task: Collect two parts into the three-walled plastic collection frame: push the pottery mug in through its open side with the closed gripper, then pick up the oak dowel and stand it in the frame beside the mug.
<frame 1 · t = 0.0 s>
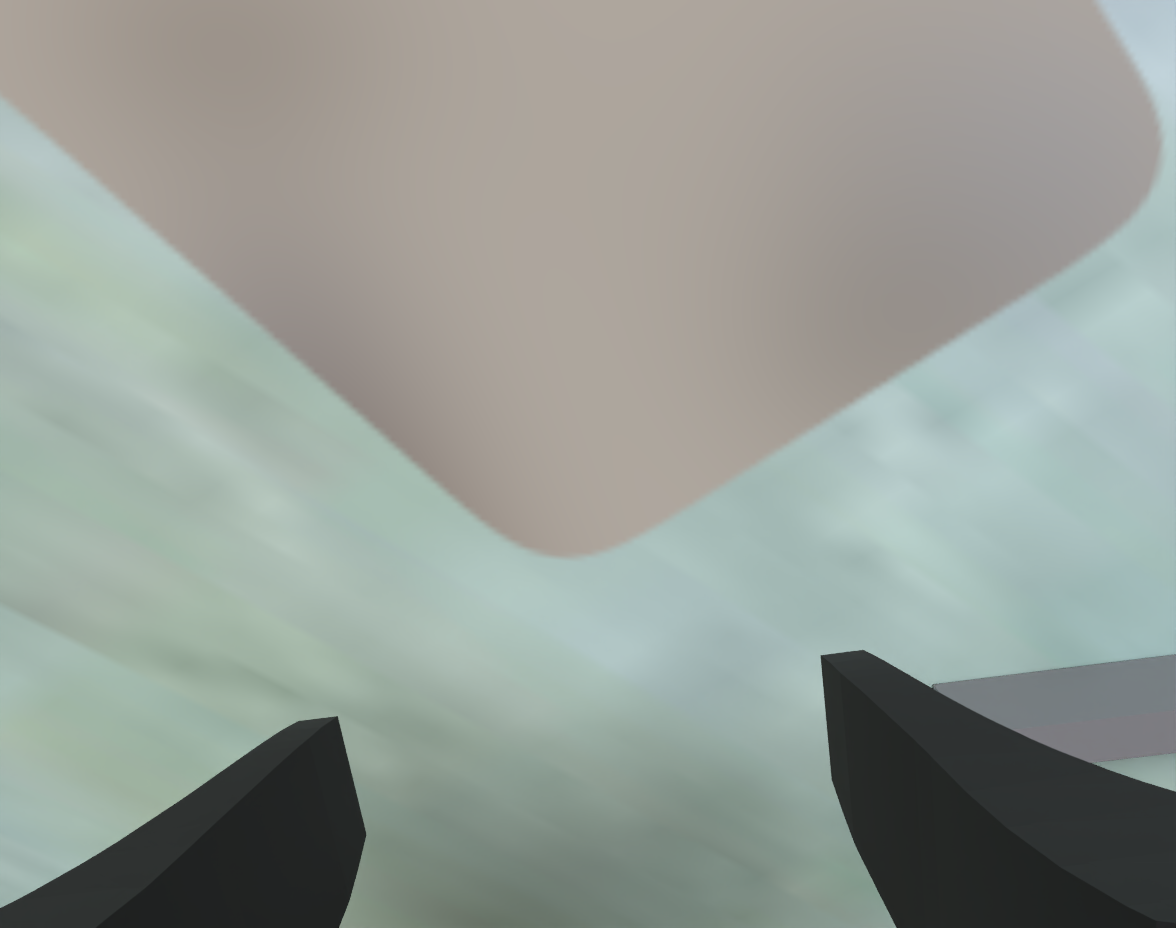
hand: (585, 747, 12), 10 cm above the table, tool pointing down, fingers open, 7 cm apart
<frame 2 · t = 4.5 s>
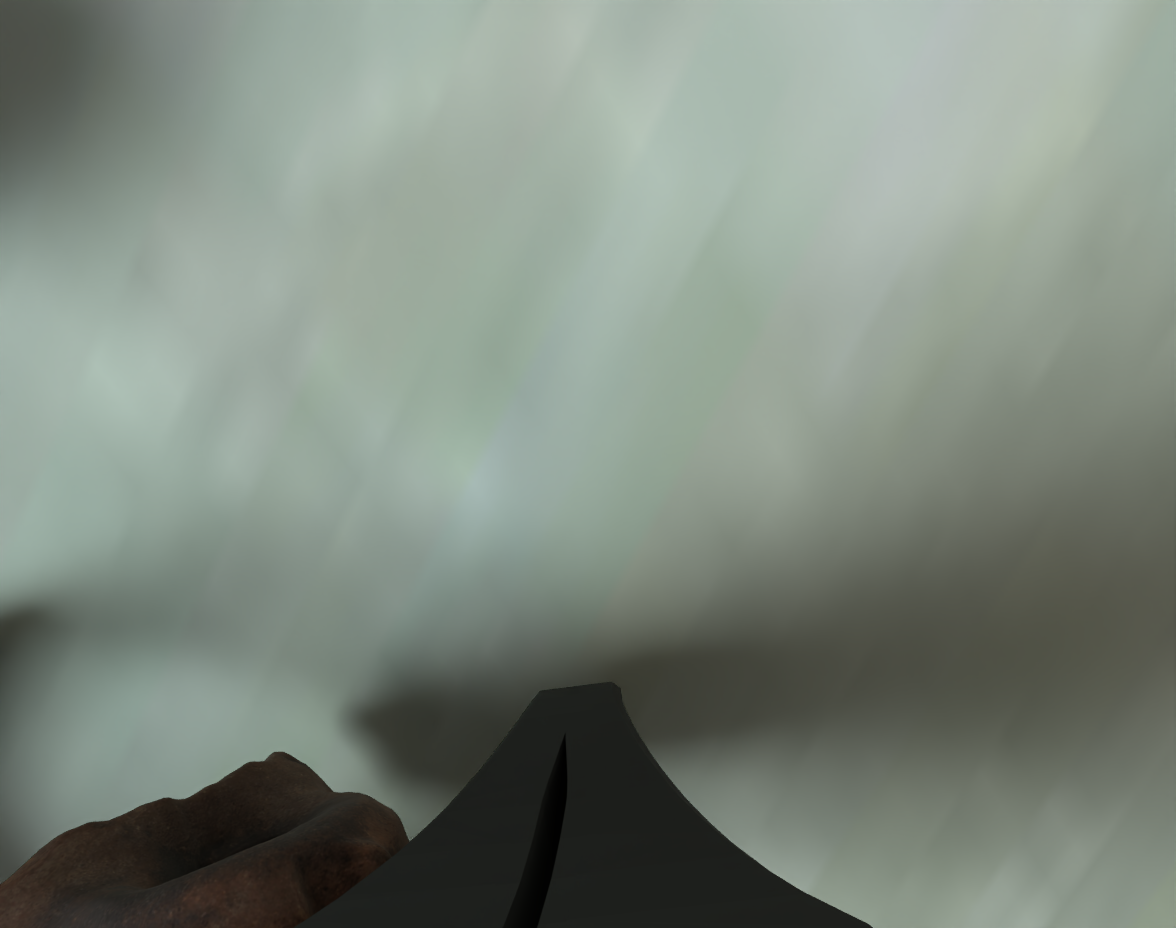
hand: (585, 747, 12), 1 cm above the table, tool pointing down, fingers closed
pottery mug: (168, 825, 13), on the table, touching gripper
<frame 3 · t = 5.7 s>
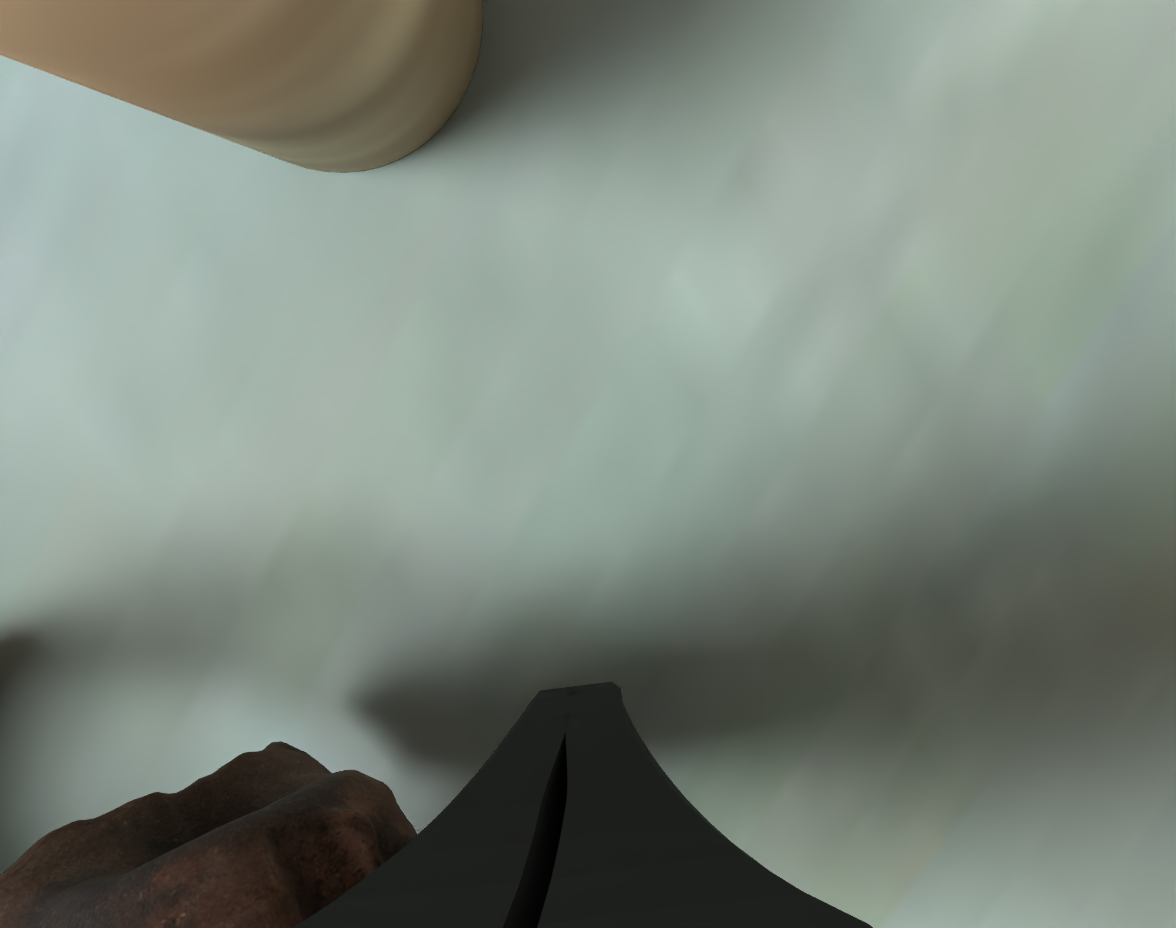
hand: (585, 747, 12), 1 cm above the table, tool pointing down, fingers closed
oak dowel: (330, 11, 10), on the table
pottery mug: (185, 830, 13), on the table, touching gripper
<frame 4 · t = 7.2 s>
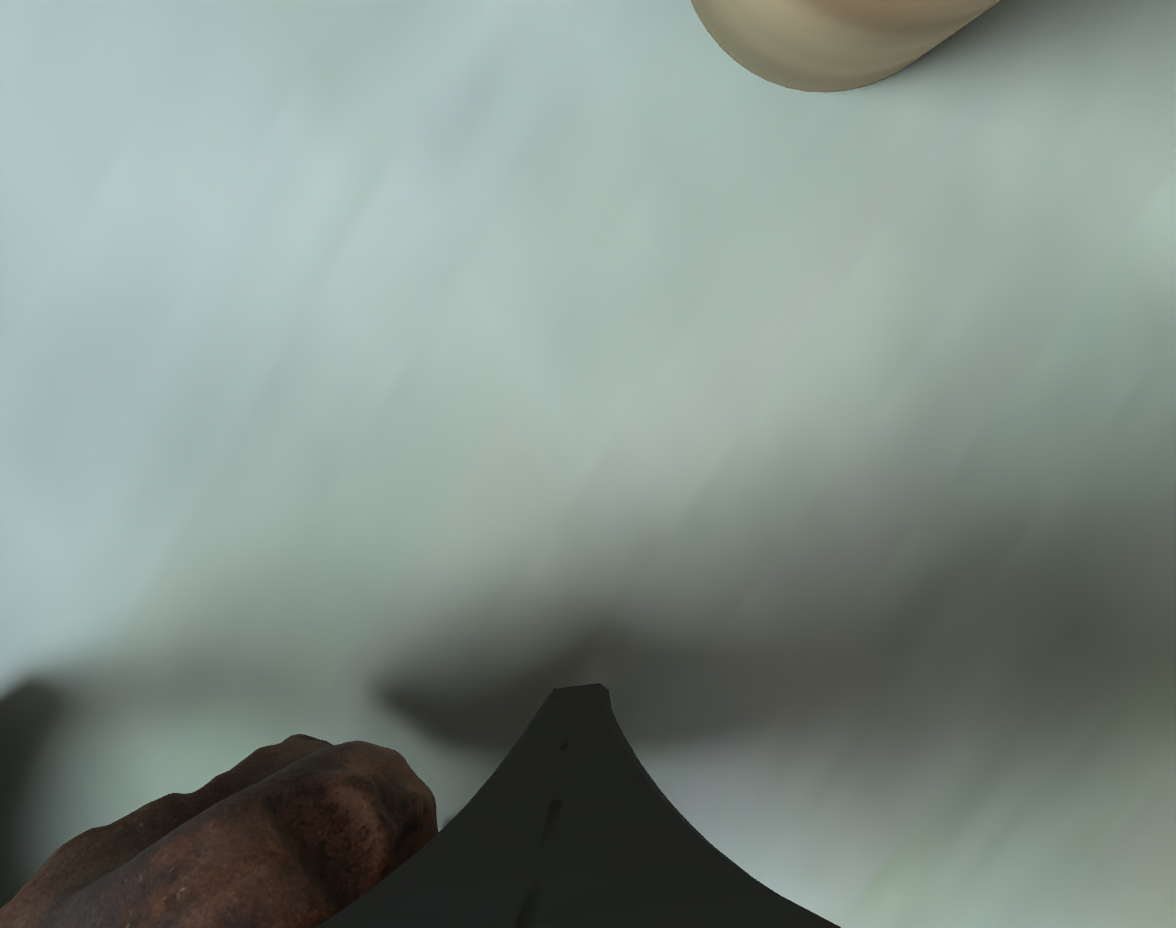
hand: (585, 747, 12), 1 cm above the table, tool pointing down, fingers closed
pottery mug: (231, 842, 13), on the table, touching collection frame, gripper
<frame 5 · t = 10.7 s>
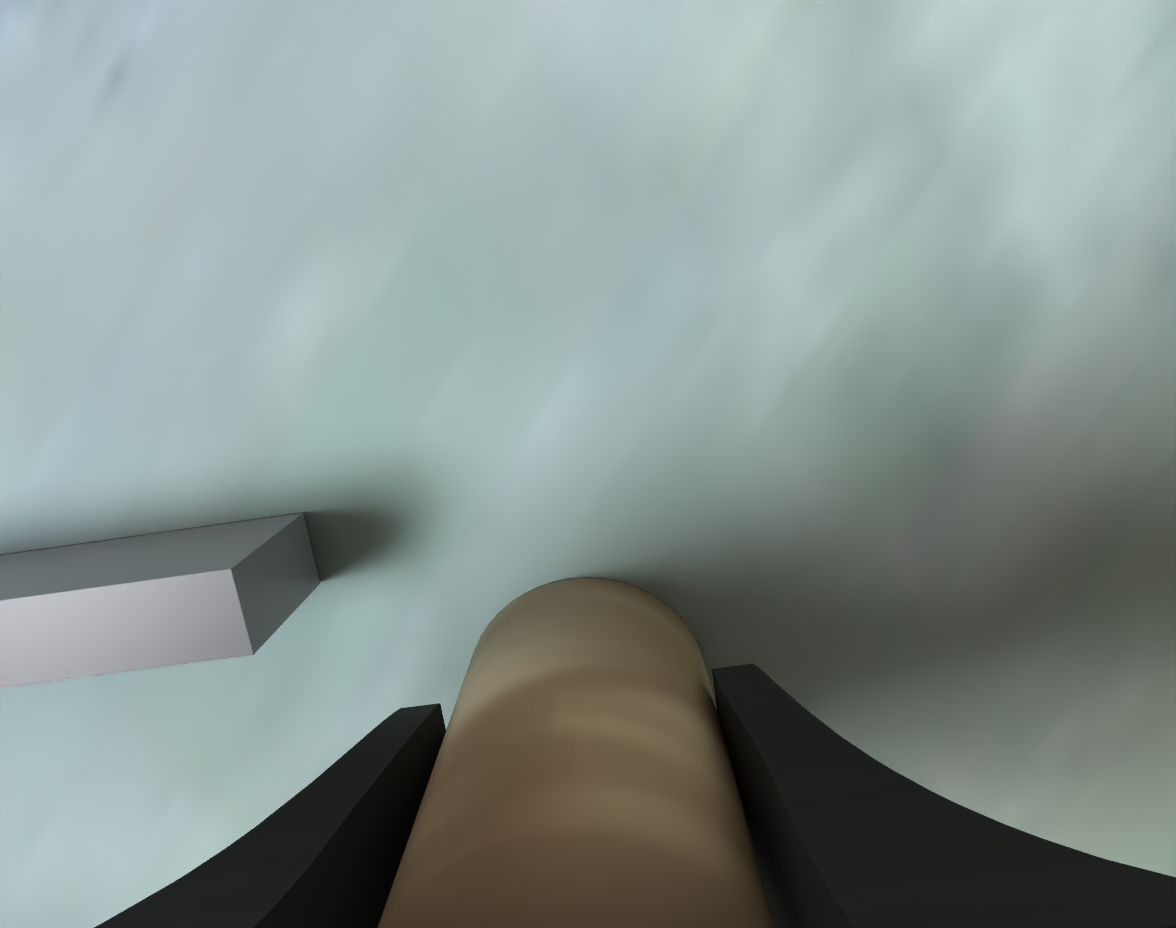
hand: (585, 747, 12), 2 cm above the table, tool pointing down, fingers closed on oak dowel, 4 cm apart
oak dowel: (587, 690, 13), on the table, touching gripper
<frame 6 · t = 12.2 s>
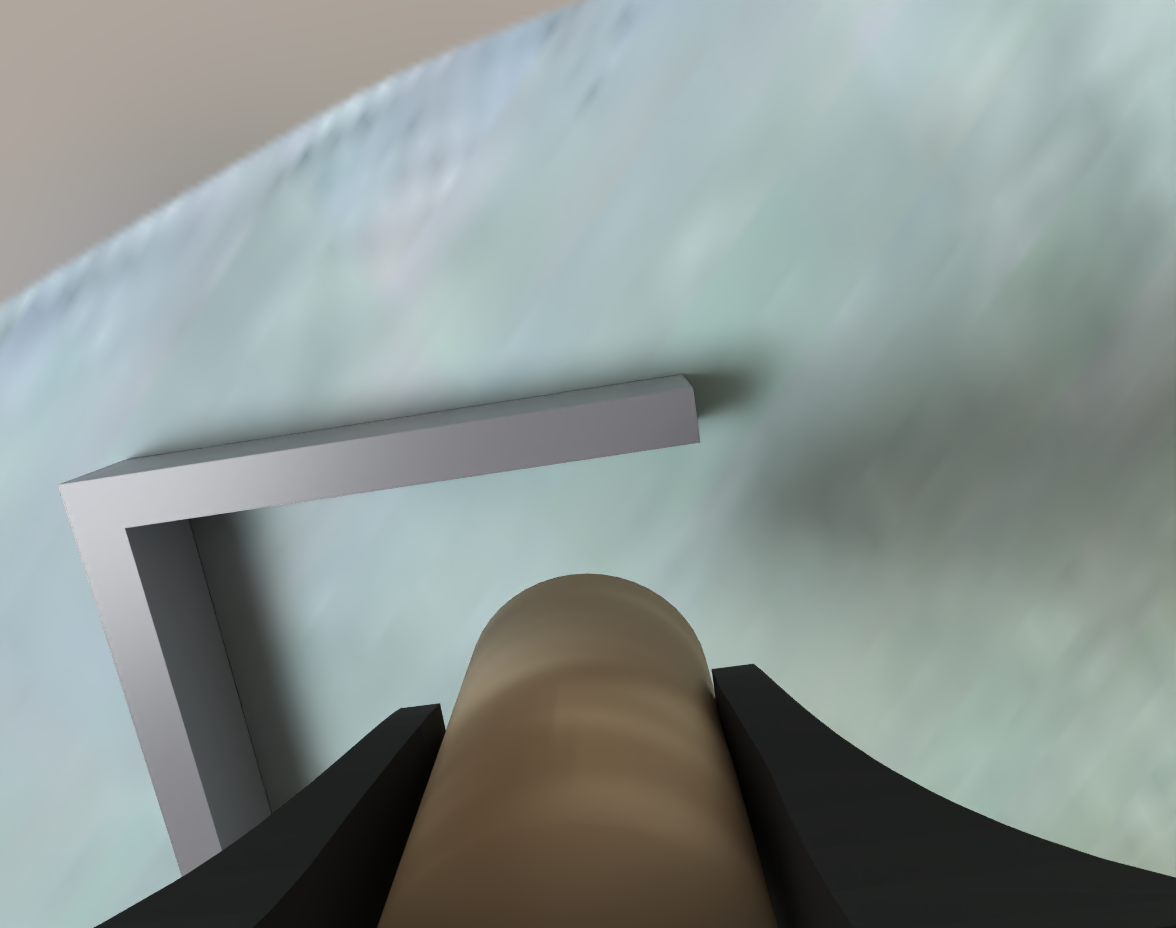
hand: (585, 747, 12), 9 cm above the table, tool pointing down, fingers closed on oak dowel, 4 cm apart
collection frame: (481, 808, 22), on the table
oak dowel: (588, 686, 13), point 7 cm above the table, touching gripper
when the fingers open (3 cm above the table, at t = 13.9 s): oak dowel drops 1 cm, on the table.
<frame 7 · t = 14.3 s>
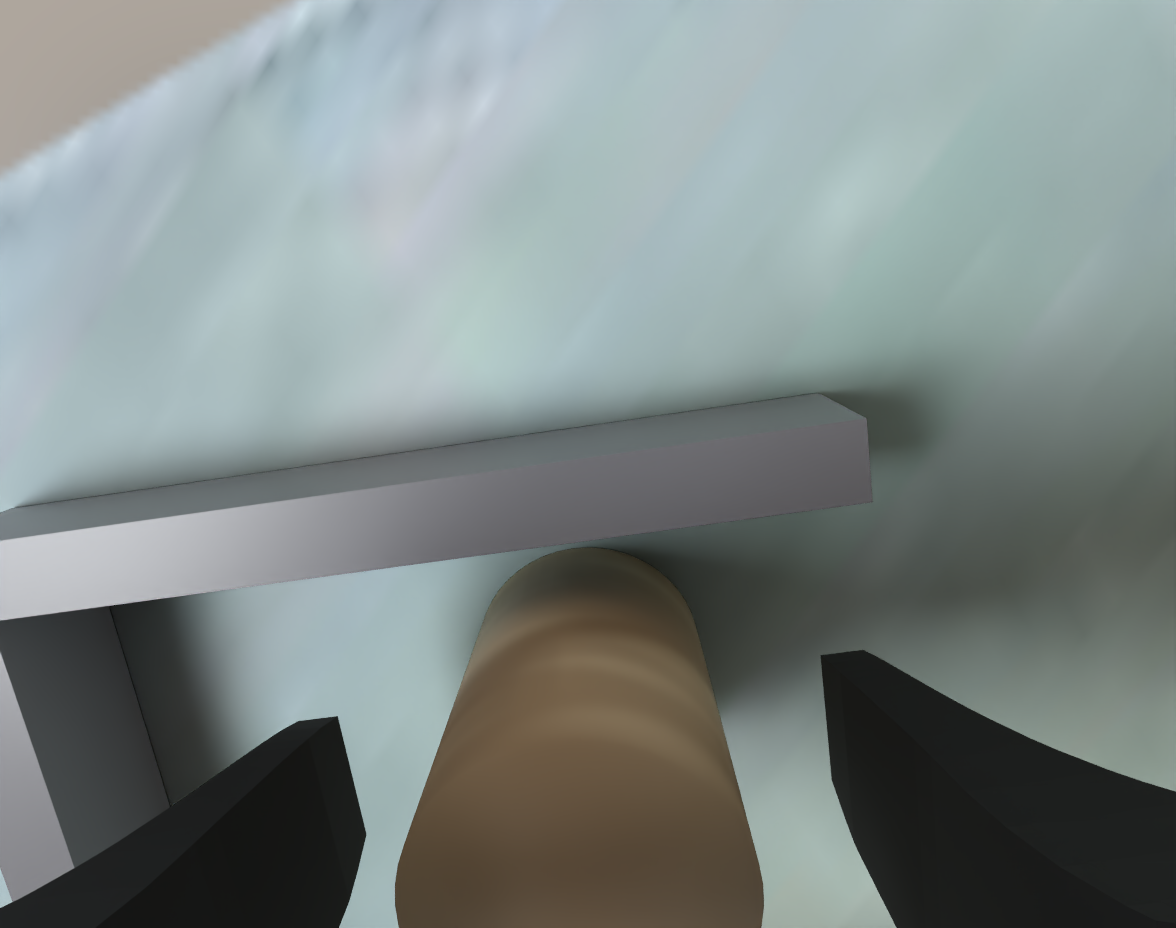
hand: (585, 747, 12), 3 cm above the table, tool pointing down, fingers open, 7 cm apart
oak dowel: (588, 651, 14), on the table
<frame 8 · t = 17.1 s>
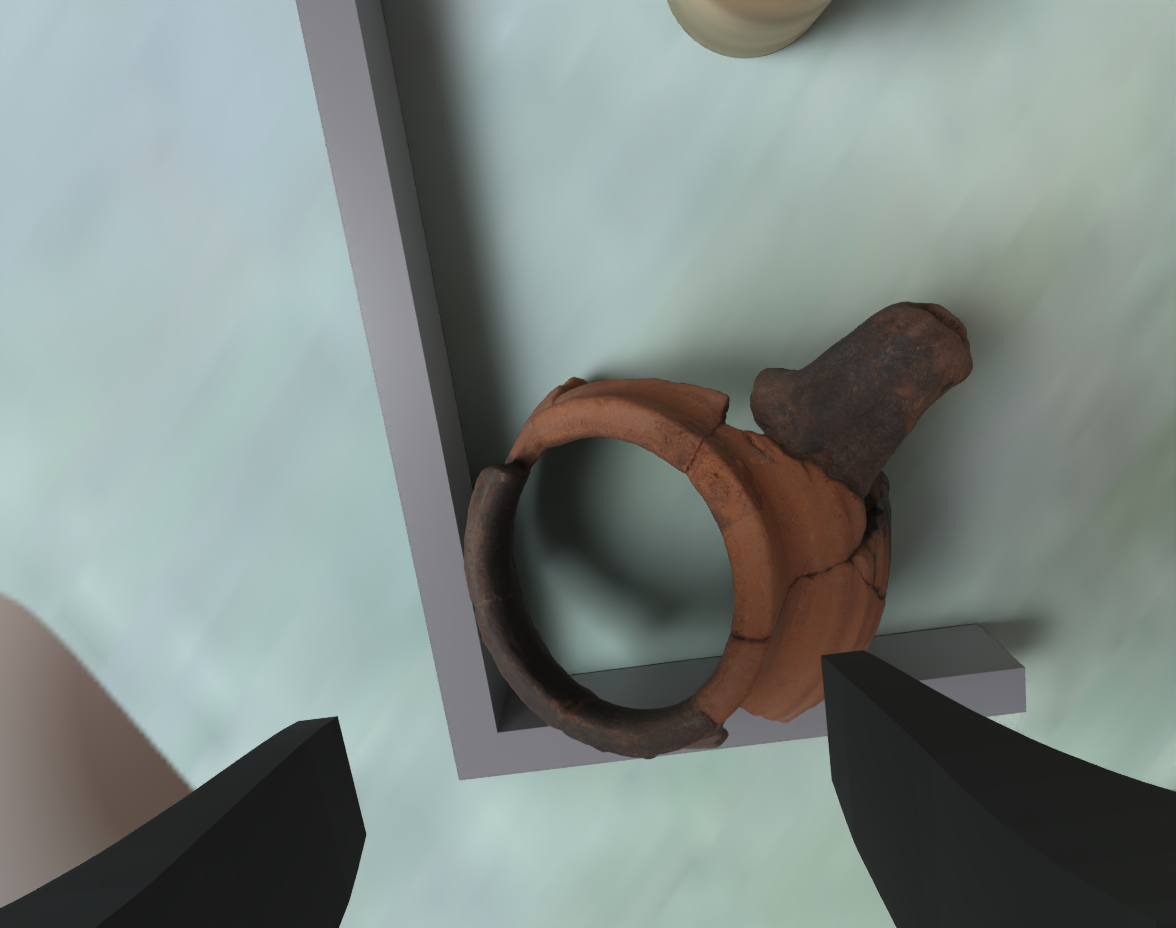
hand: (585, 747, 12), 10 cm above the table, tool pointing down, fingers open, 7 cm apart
collection frame: (673, 292, 20), on the table
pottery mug: (715, 482, 21), on the table
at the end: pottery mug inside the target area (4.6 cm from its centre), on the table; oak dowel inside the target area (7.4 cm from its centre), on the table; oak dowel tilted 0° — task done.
